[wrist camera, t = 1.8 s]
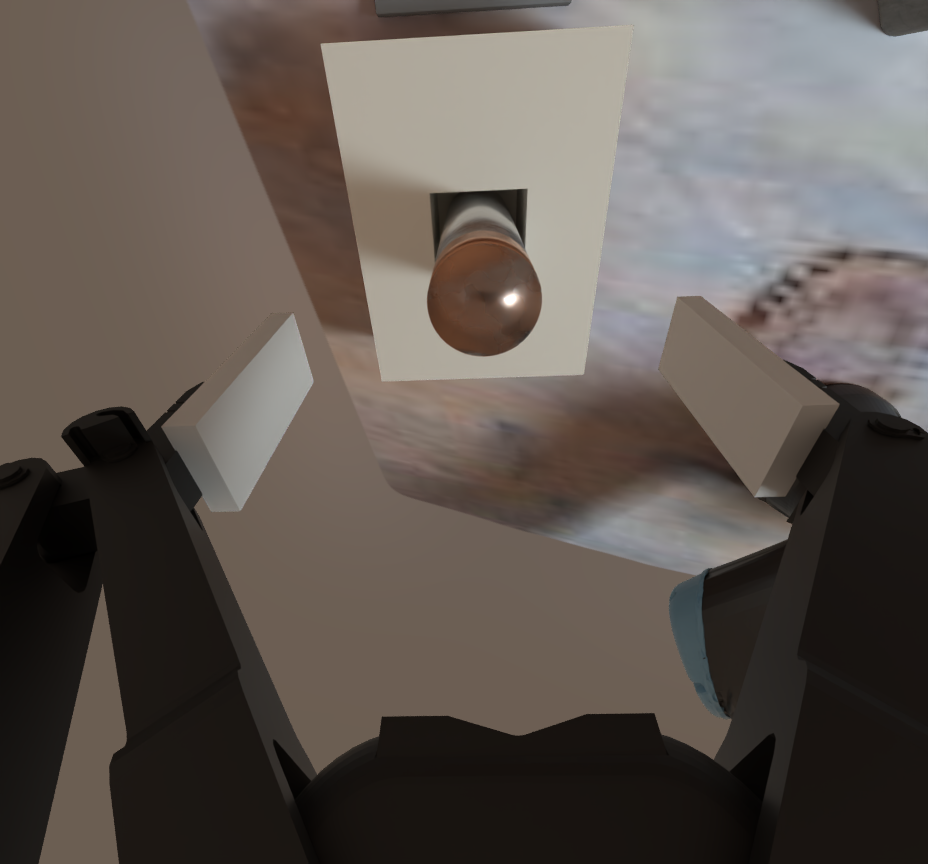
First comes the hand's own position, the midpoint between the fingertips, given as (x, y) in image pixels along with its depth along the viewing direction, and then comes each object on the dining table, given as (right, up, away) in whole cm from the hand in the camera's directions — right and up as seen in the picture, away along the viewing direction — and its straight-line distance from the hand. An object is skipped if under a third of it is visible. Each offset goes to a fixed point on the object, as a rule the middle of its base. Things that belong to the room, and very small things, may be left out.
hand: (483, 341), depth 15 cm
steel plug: (0, +13, +18) cm, 23 cm away
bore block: (0, +14, +19) cm, 24 cm away
